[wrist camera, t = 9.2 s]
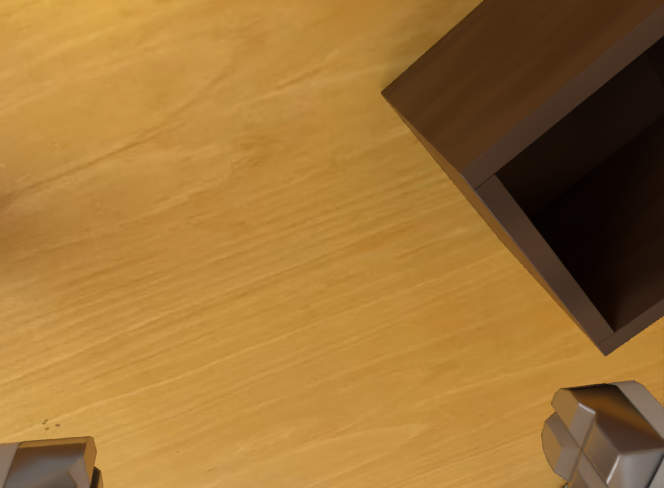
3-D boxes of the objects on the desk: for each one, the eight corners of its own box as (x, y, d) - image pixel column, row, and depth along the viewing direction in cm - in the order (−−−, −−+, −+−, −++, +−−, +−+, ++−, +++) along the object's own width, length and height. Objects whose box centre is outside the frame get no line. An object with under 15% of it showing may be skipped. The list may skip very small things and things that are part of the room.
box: (380, 92, 30) (459, 173, 20) (589, -94, 27) (789, -100, 18) (502, 242, 36) (605, 356, 27) (681, 102, 33) (865, 175, 24)
